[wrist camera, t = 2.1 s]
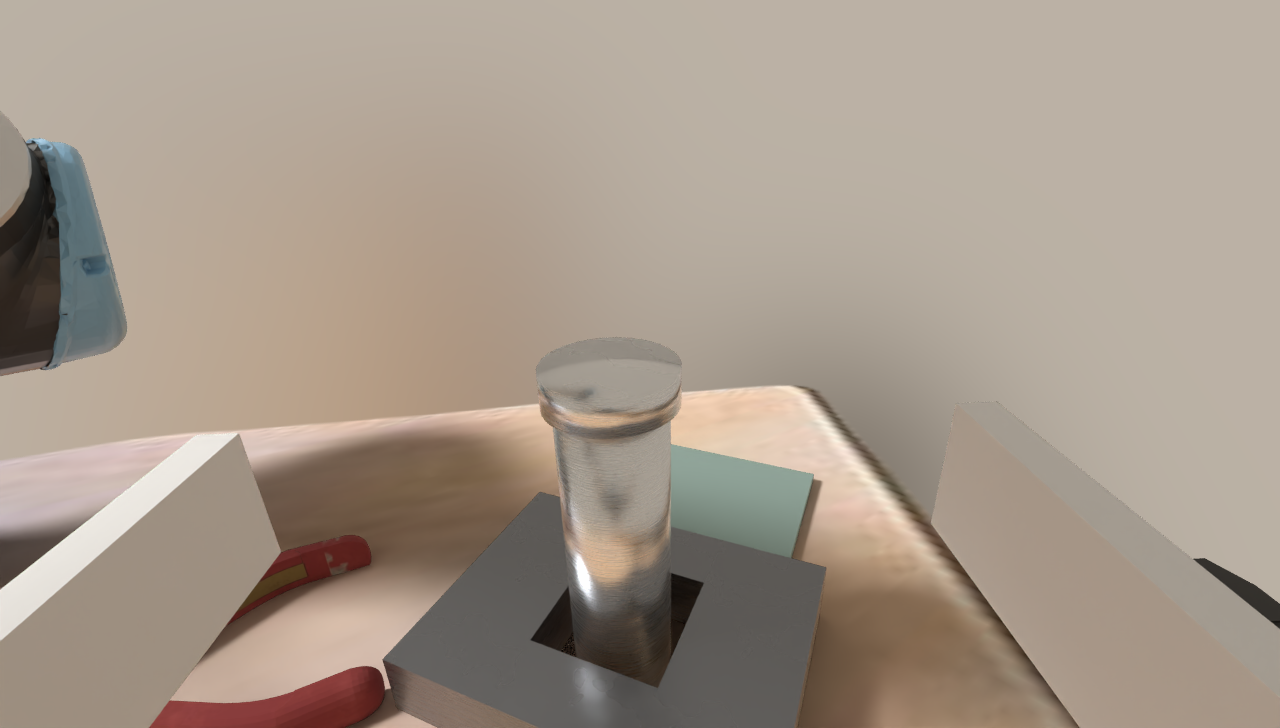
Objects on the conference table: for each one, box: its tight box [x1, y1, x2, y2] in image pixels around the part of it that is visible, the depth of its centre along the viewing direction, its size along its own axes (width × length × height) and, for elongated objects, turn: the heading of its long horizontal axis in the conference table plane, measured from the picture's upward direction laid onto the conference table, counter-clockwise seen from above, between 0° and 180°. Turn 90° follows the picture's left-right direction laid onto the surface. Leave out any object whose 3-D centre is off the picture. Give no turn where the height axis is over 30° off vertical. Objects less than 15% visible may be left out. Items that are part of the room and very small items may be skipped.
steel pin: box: [536, 337, 682, 688], centre depth 24 cm, size 5×5×15 cm
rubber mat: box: [671, 444, 814, 558], centre depth 37 cm, size 12×10×1 cm
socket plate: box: [383, 492, 826, 728], centre depth 27 cm, size 16×12×3 cm
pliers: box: [149, 535, 385, 728], centre depth 26 cm, size 12×20×3 cm, turn 116°
